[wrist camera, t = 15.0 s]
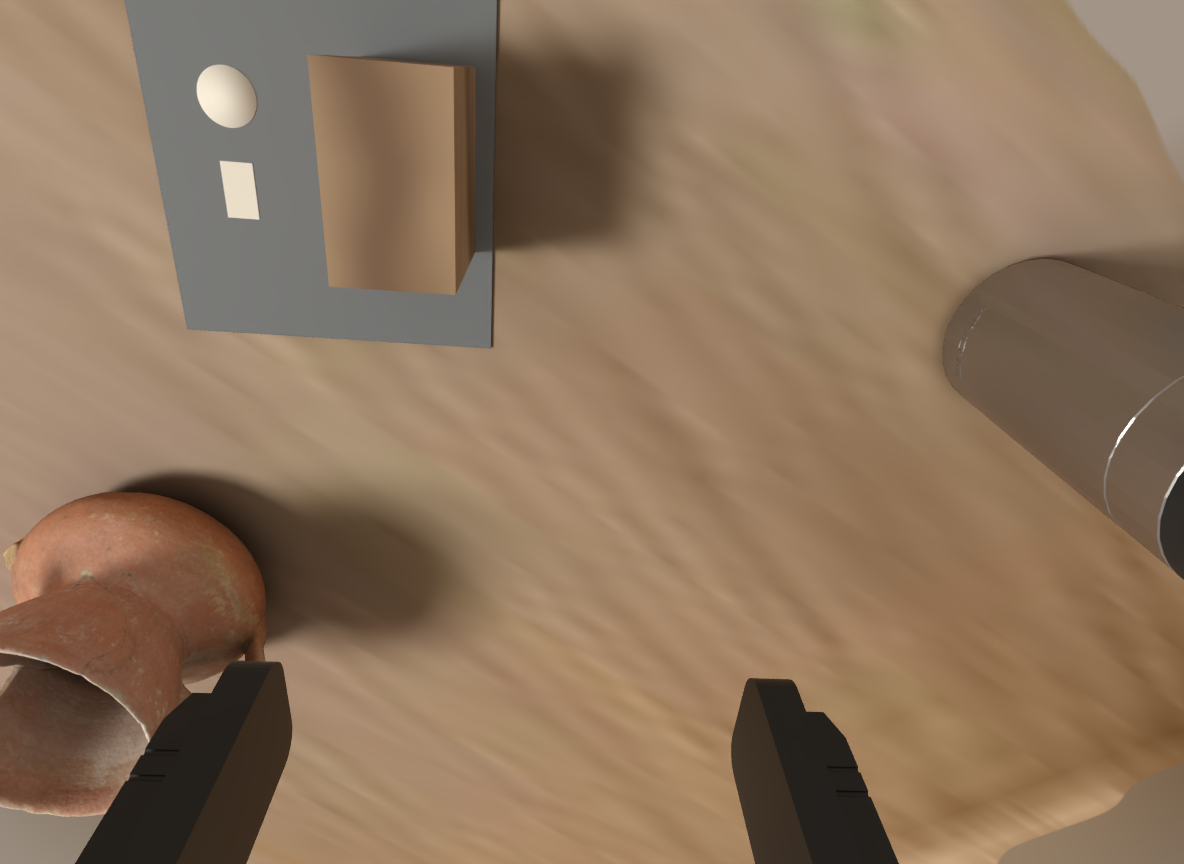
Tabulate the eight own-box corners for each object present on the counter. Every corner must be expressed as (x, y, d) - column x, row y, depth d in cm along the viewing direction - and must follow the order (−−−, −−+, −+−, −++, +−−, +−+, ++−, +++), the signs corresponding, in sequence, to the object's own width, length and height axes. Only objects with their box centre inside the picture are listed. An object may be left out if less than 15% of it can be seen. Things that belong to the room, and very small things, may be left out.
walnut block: (475, 66, 34) (453, 67, 27) (475, 252, 38) (455, 295, 31) (360, 56, 34) (307, 54, 27) (372, 245, 38) (328, 286, 31)
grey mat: (498, -68, 32) (498, -69, 32) (490, 347, 41) (490, 348, 41) (104, -110, 31) (103, -111, 30) (188, 328, 40) (187, 329, 40)
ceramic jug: (5, 581, 47) (-195, 768, 35) (69, 420, 42) (-140, 572, 30) (262, 683, 53) (168, 878, 40) (347, 552, 47) (270, 728, 35)
